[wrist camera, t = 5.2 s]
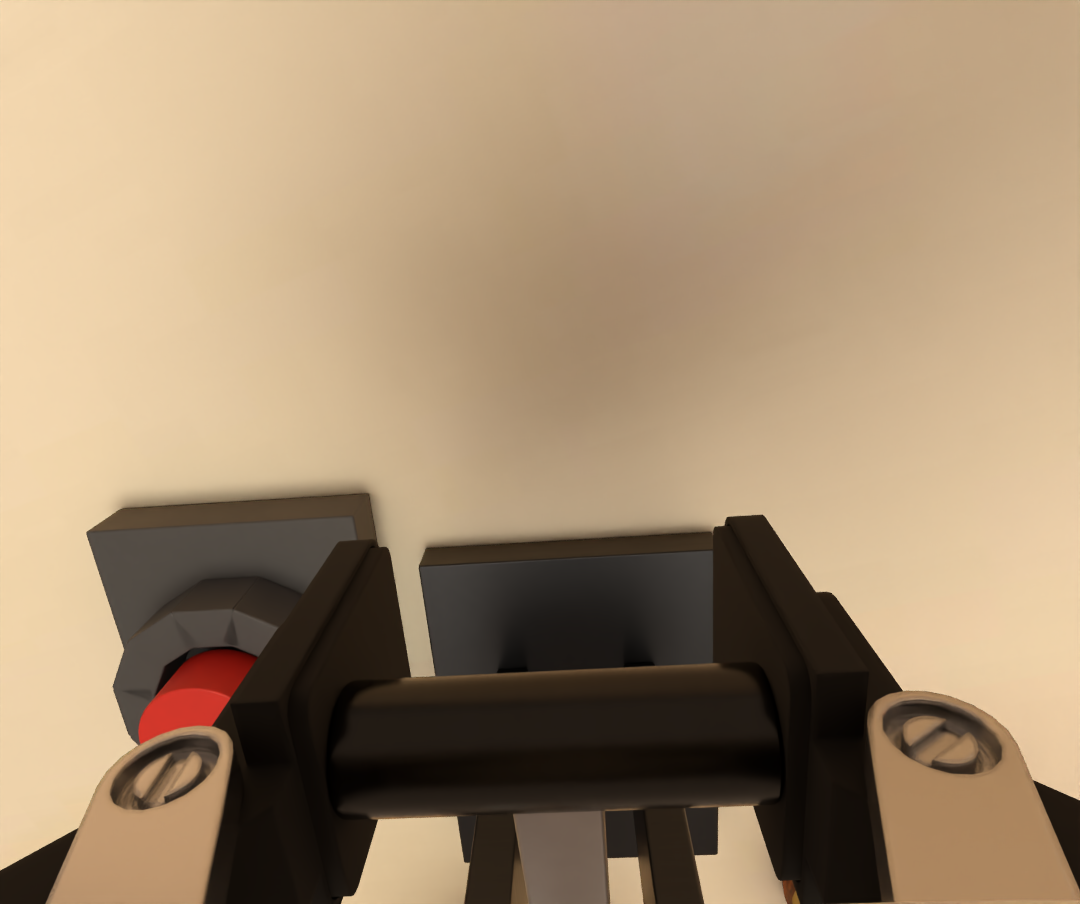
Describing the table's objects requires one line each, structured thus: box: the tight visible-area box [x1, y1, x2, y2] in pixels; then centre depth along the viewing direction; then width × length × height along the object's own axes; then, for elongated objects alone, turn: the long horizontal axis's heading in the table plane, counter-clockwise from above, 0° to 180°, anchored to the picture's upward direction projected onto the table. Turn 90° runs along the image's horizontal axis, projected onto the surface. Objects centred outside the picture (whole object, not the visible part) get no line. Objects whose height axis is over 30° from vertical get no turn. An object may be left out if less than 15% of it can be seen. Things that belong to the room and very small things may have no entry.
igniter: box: [87, 494, 377, 745], centre depth 22 cm, size 10×8×4 cm
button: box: [138, 649, 258, 744], centre depth 19 cm, size 4×4×2 cm
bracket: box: [419, 532, 718, 904], centre depth 18 cm, size 12×9×13 cm
